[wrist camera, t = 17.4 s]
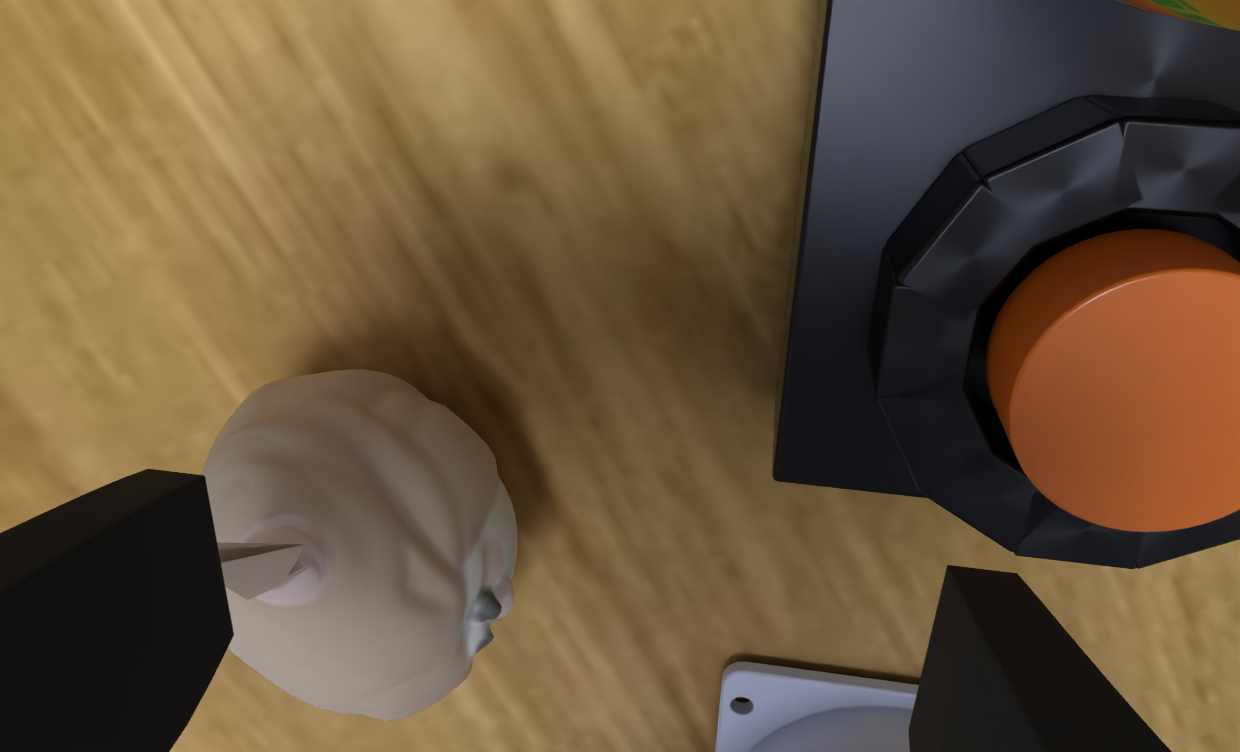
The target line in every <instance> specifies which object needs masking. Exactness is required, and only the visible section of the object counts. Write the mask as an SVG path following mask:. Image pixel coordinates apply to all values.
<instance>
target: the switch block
mask: <svg viewBox="0 0 1240 752" xmlns="http://www.w3.org/2000/svg"><path fill="white" fill-rule="evenodd" d="M1131 229H1161V230H1168V231H1176V232H1180V233H1183V234H1187V235H1191V236H1194V237H1197V238H1199V239H1202V240H1204V241H1206V242H1209V243H1211V244H1213V245H1214V246H1216V247H1218V248H1219V249H1221V250H1223V251H1224V252H1226V253H1227V254H1229V255H1230V256H1231V257H1233V258H1234V259H1236V260H1237V261H1238V262H1240V32H1239V31H1235V30H1230V29H1226V28H1221V27H1217V26H1212V25H1208V24H1203V23H1198V22H1194V21H1189V20H1184V19H1179V18H1175V17H1171V16H1167V15H1163V14H1159V13H1155V12H1150V11H1146V10H1142V9H1140V8H1137V7H1134V6H1131V5H1127V4H1124V3H1122V2H1119V1H1117V0H820V4H819V13H818V22H817V31H816V40H815V49H814V58H813V67H812V76H811V85H810V94H809V102H808V111H807V120H806V129H805V138H804V147H803V156H802V165H801V174H800V183H799V192H798V201H797V210H796V219H795V228H794V237H793V246H792V255H791V263H790V272H789V281H788V290H787V299H786V308H785V317H784V326H783V335H782V344H781V353H780V362H779V371H778V380H777V389H776V398H775V418H774V444H773V469H772V476H773V479H774V480H775V481H778V482H787V483H796V484H805V485H814V486H823V487H832V488H842V489H851V490H860V491H869V492H878V493H887V494H896V495H905V496H914V497H923V498H929V499H930V500H932V501H933V502H935V503H936V504H938V505H940V506H941V507H943V508H944V509H946V510H947V511H949V512H950V513H952V514H953V515H955V516H956V517H958V518H960V519H961V520H963V521H964V522H966V523H967V524H969V525H970V526H972V527H973V528H975V529H976V530H978V531H979V532H981V533H983V534H984V535H986V536H987V537H989V538H990V539H992V540H993V541H995V542H996V543H998V544H999V545H1001V546H1003V547H1004V548H1006V549H1007V550H1009V551H1011V552H1014V554H1015V555H1017V556H1025V557H1033V558H1042V559H1050V560H1059V561H1068V562H1076V563H1085V564H1093V565H1102V566H1110V567H1119V568H1127V569H1135V568H1143V567H1146V566H1150V565H1153V564H1156V563H1160V562H1163V561H1167V560H1170V559H1174V558H1177V557H1180V556H1184V555H1187V554H1191V553H1194V552H1198V551H1201V550H1204V549H1208V548H1211V547H1215V546H1218V545H1222V544H1225V543H1229V542H1232V541H1235V540H1239V539H1240V510H1238V511H1236V512H1234V513H1231V514H1229V515H1227V516H1225V517H1222V518H1220V519H1217V520H1214V521H1211V522H1208V523H1205V524H1201V525H1197V526H1193V527H1189V528H1184V529H1178V530H1171V531H1158V532H1139V531H1125V530H1119V529H1113V528H1108V527H1105V526H1101V525H1097V524H1094V523H1091V522H1088V521H1086V520H1084V519H1081V518H1079V517H1076V516H1074V515H1072V514H1070V513H1069V512H1067V511H1065V510H1063V509H1062V508H1060V507H1058V506H1057V505H1055V504H1054V503H1053V502H1052V501H1050V500H1049V499H1048V498H1046V497H1045V496H1044V495H1043V494H1042V493H1041V492H1040V491H1039V490H1038V489H1037V488H1036V487H1035V486H1034V485H1033V484H1032V482H1031V481H1030V480H1029V478H1028V477H1027V476H1026V474H1025V473H1024V471H1023V470H1022V468H1021V466H1020V464H1019V462H1018V460H1017V458H1016V456H1015V453H1014V451H1013V449H1012V446H1011V444H1010V442H1009V439H1008V437H1007V435H1006V432H1005V430H1004V428H1003V425H1002V423H1001V420H1000V418H999V416H998V413H997V411H996V409H995V406H994V404H993V401H992V398H991V395H990V392H989V389H988V384H987V379H986V360H985V359H986V351H987V344H988V340H989V337H990V333H991V330H992V327H993V325H994V322H995V320H996V318H997V315H998V313H999V311H1000V310H1001V308H1002V307H1003V305H1004V303H1005V302H1006V300H1007V298H1008V297H1009V296H1010V295H1011V293H1012V292H1013V291H1014V290H1015V288H1016V287H1017V286H1018V284H1019V283H1020V282H1021V281H1022V280H1024V279H1025V278H1026V277H1027V276H1028V275H1029V274H1030V273H1031V272H1032V271H1033V270H1034V269H1035V268H1037V267H1038V266H1039V265H1041V264H1042V263H1043V262H1044V261H1046V260H1047V259H1049V258H1050V257H1052V256H1054V255H1055V254H1057V253H1058V252H1060V251H1062V250H1064V249H1066V248H1068V247H1070V246H1072V245H1074V244H1076V243H1078V242H1081V241H1083V240H1086V239H1089V238H1092V237H1095V236H1098V235H1102V234H1107V233H1111V232H1116V231H1122V230H1131Z"/></svg>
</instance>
